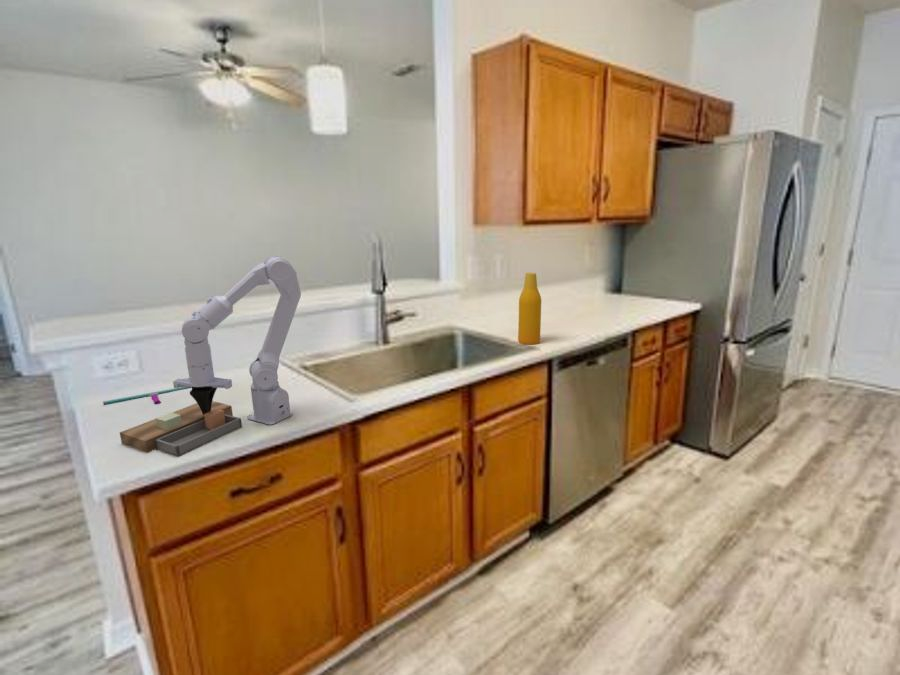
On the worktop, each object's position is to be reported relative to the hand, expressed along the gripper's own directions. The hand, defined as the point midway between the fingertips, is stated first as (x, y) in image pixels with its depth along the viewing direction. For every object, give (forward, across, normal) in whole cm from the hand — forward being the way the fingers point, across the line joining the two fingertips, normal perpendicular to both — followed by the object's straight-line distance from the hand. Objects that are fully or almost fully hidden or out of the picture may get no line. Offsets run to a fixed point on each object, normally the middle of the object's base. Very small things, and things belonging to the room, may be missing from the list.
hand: (207, 413), depth 129 cm
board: (+4, +7, +1) cm, 8 cm away
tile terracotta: (+1, -1, 0) cm, 2 cm away
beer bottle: (+3, -92, -87) cm, 126 cm away
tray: (+4, -1, +6) cm, 7 cm away
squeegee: (+5, +27, -21) cm, 34 cm away
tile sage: (+1, +7, +6) cm, 9 cm away
